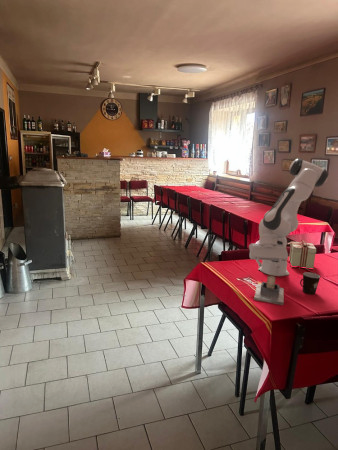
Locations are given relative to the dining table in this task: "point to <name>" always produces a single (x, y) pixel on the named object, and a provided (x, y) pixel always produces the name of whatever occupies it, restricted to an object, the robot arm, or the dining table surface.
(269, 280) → the disc
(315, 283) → the coffee mug
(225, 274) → the dining table surface
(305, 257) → the gift box
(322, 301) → the dining table surface
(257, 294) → the grey block with recess
